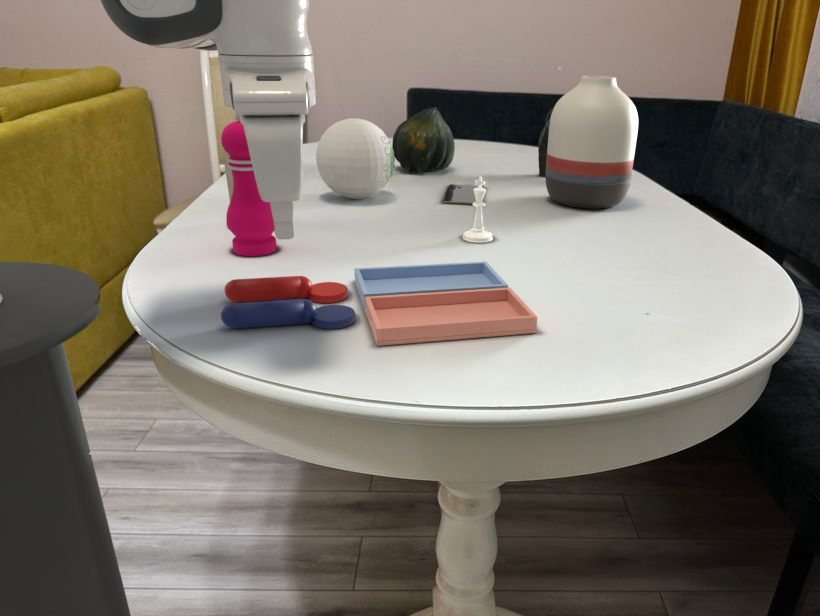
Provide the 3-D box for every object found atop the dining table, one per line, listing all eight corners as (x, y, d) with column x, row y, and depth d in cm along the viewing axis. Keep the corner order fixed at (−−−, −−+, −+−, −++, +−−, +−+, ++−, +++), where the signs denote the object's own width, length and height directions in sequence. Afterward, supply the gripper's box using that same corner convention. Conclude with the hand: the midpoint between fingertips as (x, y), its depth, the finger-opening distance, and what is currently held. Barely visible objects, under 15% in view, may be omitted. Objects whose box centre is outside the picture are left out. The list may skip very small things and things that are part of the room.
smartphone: (442, 201, 132) (449, 182, 146) (442, 203, 132) (449, 185, 146) (481, 202, 131) (484, 184, 146) (481, 205, 132) (484, 187, 146)
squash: (371, 147, 156) (412, 98, 148) (397, 141, 169) (436, 96, 162) (413, 193, 156) (456, 147, 149) (436, 184, 170) (476, 141, 162)
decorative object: (388, 209, 126) (386, 125, 120) (309, 205, 127) (303, 121, 121) (400, 191, 140) (399, 115, 133) (329, 188, 141) (325, 112, 134)
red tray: (376, 346, 72) (376, 329, 71) (365, 312, 81) (364, 296, 80) (536, 333, 77) (537, 316, 76) (509, 302, 85) (510, 287, 84)
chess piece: (484, 244, 108) (486, 181, 103) (457, 239, 110) (459, 177, 105) (497, 237, 112) (501, 176, 107) (471, 232, 114) (474, 172, 109)
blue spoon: (221, 337, 73) (218, 313, 72) (223, 319, 77) (220, 297, 76) (357, 327, 77) (356, 304, 75) (352, 311, 81) (351, 289, 80)
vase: (616, 216, 127) (634, 81, 117) (531, 205, 133) (541, 76, 123) (635, 199, 141) (652, 77, 131) (557, 189, 147) (568, 72, 137)
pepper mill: (269, 240, 106) (256, 105, 97) (287, 252, 100) (276, 111, 92) (223, 247, 102) (205, 107, 93) (239, 260, 96) (223, 113, 88)
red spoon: (224, 310, 80) (222, 287, 79) (226, 295, 84) (224, 273, 83) (349, 301, 83) (349, 280, 82) (345, 288, 88) (344, 267, 87)
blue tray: (364, 309, 81) (363, 294, 80) (354, 282, 90) (354, 268, 89) (507, 299, 86) (508, 285, 85) (485, 275, 94) (486, 261, 93)
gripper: (239, 79, 74) (254, 203, 80) (231, 96, 57) (251, 255, 63) (297, 78, 76) (308, 201, 82) (308, 96, 58) (320, 251, 64)
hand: (283, 225), depth 72 cm, fingers open, 8 cm apart
